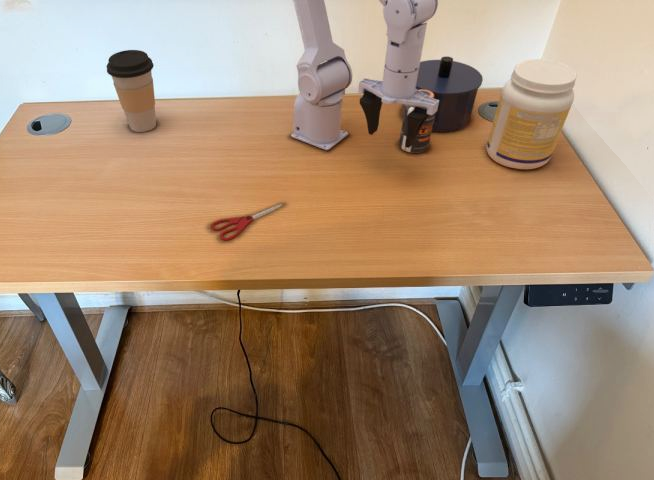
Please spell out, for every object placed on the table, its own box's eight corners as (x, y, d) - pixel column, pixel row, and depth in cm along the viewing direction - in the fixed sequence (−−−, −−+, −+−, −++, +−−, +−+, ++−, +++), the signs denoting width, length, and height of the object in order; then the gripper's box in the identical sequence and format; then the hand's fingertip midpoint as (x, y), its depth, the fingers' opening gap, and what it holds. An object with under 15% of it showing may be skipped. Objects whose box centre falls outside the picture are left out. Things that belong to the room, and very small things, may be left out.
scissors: (208, 228, 94) (208, 223, 93) (273, 199, 99) (273, 195, 98) (224, 244, 91) (224, 240, 90) (290, 214, 96) (290, 210, 95)
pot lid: (396, 91, 109) (400, 68, 106) (414, 60, 119) (417, 39, 116) (475, 103, 105) (481, 81, 101) (486, 70, 114) (492, 49, 111)
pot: (394, 125, 115) (400, 87, 109) (410, 95, 124) (416, 58, 118) (463, 138, 111) (473, 99, 105) (474, 105, 120) (484, 68, 114)
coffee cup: (143, 111, 123) (128, 44, 112) (173, 122, 119) (161, 54, 108) (112, 128, 117) (94, 61, 107) (142, 141, 113) (127, 72, 103)
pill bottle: (410, 157, 107) (420, 103, 98) (392, 143, 110) (400, 90, 102) (434, 148, 108) (446, 96, 100) (416, 135, 112) (425, 83, 104)
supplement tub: (563, 164, 103) (599, 79, 91) (510, 177, 101) (540, 92, 89) (522, 133, 111) (550, 52, 99) (472, 145, 109) (494, 63, 97)
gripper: (351, 63, 90) (345, 135, 99) (430, 86, 83) (416, 161, 93) (373, 48, 93) (365, 120, 103) (450, 69, 87) (434, 143, 97)
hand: (390, 138), depth 98 cm, fingers open, 7 cm apart
